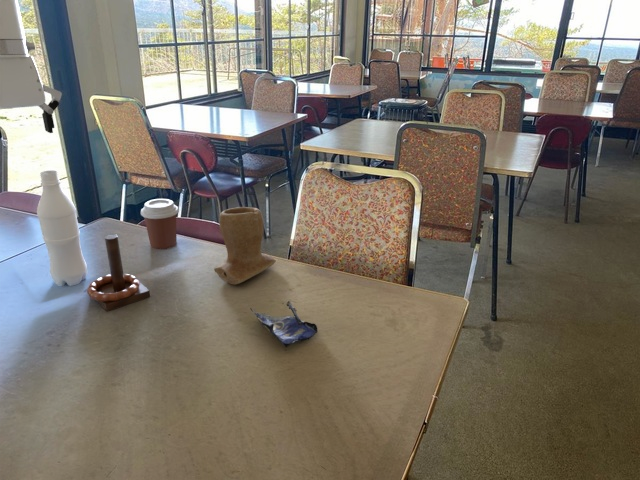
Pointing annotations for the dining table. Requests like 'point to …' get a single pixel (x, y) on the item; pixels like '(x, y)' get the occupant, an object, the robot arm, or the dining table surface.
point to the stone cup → (242, 244)
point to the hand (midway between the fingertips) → (24, 134)
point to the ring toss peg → (118, 278)
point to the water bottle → (60, 232)
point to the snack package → (287, 327)
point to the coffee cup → (160, 222)
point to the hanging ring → (112, 296)
